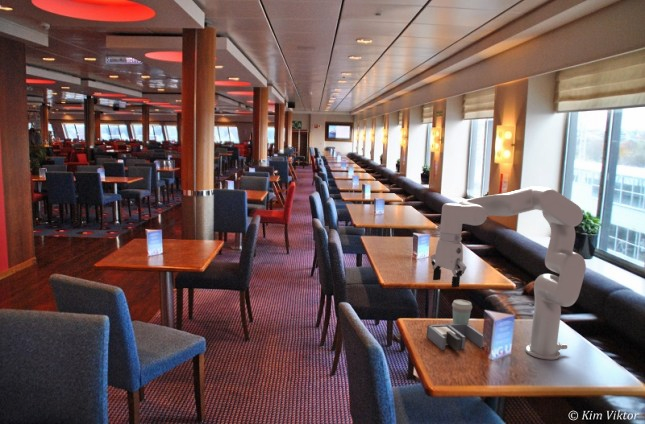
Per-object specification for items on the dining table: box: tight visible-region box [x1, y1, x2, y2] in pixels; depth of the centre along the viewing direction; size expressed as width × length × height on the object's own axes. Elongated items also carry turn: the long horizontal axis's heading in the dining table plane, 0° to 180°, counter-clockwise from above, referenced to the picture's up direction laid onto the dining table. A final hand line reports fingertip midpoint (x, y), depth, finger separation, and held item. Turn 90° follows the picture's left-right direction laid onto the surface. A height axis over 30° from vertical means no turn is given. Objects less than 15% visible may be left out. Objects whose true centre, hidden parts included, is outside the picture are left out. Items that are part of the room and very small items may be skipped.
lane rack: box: [426, 323, 485, 351], centre depth 214 cm, size 18×14×5 cm
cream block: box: [433, 327, 461, 352], centre depth 210 cm, size 6×16×6 cm, turn 14°
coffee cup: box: [451, 299, 473, 325], centre depth 229 cm, size 8×9×12 cm
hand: (445, 283), depth 193 cm, fingers open, 9 cm apart
